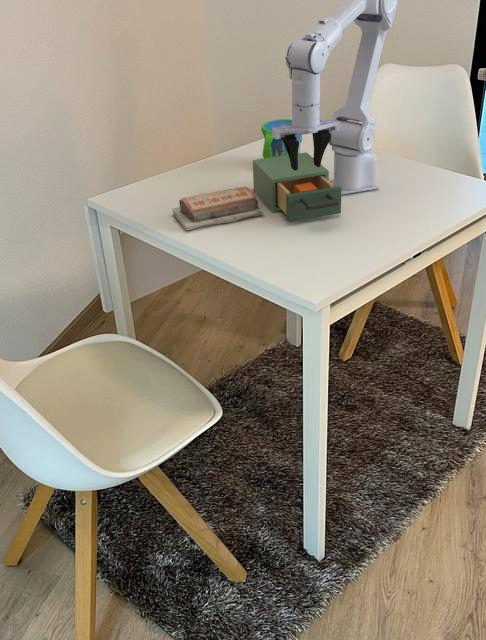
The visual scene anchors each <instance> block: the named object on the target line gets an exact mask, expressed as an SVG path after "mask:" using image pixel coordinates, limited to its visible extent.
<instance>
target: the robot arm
mask: <svg viewBox="0 0 486 640" xmlns="http://www.w3.org/2000/svg"><path fill="white" fill-rule="evenodd" d="M398 1H399V0H342V2H341V3H340V4H339V6H337V8H336V9H335V11H334V12H333V13H332V14H331V15H330V16H323V17H322V16H321V17H320V18H319V19H318V21H317V23H316V24H315V25H314V26H313V27H312V28H311V29H310V30H309V31H308V32H307V33H306V34H305V35H304V36H303V37H302V38H301V39H295V40H294V41H293V42H291V43H290V44H289V45H288V47H287V51H286V55H285V65H286V67H287V68H288V72H289V73H288V77H289V79H290V80H291V120H292V123H289V124H286V125H282V126H278V127H273V128H272V137H273V138H274V139H280V138H281V139H282V141H283V143H284V145H285V147H286V150H287V152H288V155H289V159H290V163H291V168H292V169H293V170H294V171H296V170H298V148H299V143H300V142H299V141H298V140H297V137H295V136H296V135H302V136H304V135H309V134H312V143H313V158H314V165H315V166H317V167H320V165H322V160H323V157H324V154H325V152H326V149H327V147H328V145H329V146H331V151H333V153H334V155H333V156H334V157H333V180H330V181H329V182H331V183H332V184H333V185H334V187H339V186H340V187H341V188H342V191H341V196H342V195H347V194H348V195H349V194H354V193H361V192H367V191H372V190H376V189H377V187H376V186H375V185H376V171H377V159H376V154H375V151H374V150H373V148H372V147H373V144H374V141H375V128H376V119H375V118H374V117H373V115H372V114H371V113H370V111H369V109H368V108H369V104H370V100H371V96H372V92H373V88H374V84H375V79H376V76H377V71H378V67H379V63H380V59H381V55H382V51H383V47H384V44H385V38H386V35H387V31H388V30H390V29H391V28H392V26H393V21H394V18H395V14H396V10H397V6H398ZM353 22H354V24H355V25H356V26H357V27H359V28H360V30H361V37H360V41H359V45H358V50H357V54H356V58H355V62H354V67H353V70H352V73H351V74H352V75H351V80H350V82H349V88H348V93H347V97H346V100H345V104H344V105H343V106H342V107H340V108H338V109H337V110H336V111H334V112H333V115H332V119H321V117H320V116H321V109H320V108H321V72H322V71H324V69H325V67H326V64H327V60H328V59H329V58H330V57H329V56H330V53H331V52H332V50H333V49H334V48H335V47H336V46H337V45H338V44H339V43H340V42H341V41H342V38H343V31H344V29H346V28H347V27H348V26H349V25H350V24H352V23H353ZM300 144H301V143H300Z"/></svg>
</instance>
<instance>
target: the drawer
mask: <svg viewBox="0 0 486 640" xmlns="http://www.w3.org/2000/svg"><path fill="white" fill-rule="evenodd" d="M305 183H312V184H313V185H314V186H315V187H316V188H318V190H314V191H307V192H301V193H295V194H294V185H298V184H305ZM275 191H276V204H277V205H278V206H279V208H280V209H281V211H282V212H283V213H284V214H285V215H286V217H285V218H286V221H287V222H288V223H289V222H296V221H302V220H309V219H314V218H320V217H327V216H332V215H337V214H341V212H342V195H341V191H342V188H341V187H340V186H339V187H334V185H333V184H332V183H331V182H329V181H328V180H327V179H326V178H325V177H324V176H322V175H320V176H314V177H307V178H301V179H294V180H288V181H281V182H275Z"/></svg>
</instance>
